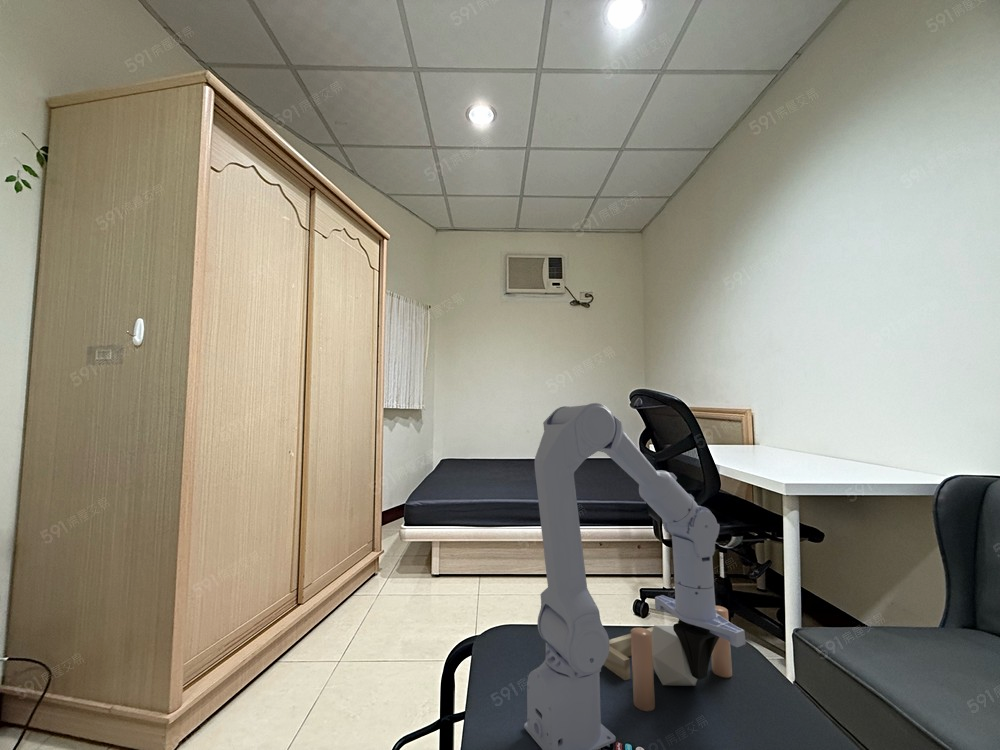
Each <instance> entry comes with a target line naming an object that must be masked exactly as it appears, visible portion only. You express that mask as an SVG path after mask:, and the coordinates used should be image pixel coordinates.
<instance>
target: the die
mask: <svg viewBox="0 0 1000 750" xmlns="http://www.w3.org/2000/svg"><path fill="white" fill-rule="evenodd" d="M653 627H654V628H653V630H652V652H653V671H654V672H655V675H657V677H658V679H659V681H660V682H661V685H662V686H683V687H685V686H696V685H697V682H698V679H696V678H695V677H693V676H692V674H691V671H690V667H689V664H688V660H687V657H686V654H685V651H684V649H683V646H682V644H681V642H680V640H679V638H678V636H677V635H676V633H675V631H674V629H673V625H656V624H655V625H654V626H653Z"/></svg>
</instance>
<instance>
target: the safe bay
mask: <svg viewBox="0 0 1000 750" xmlns="http://www.w3.org/2000/svg"><path fill="white" fill-rule="evenodd" d="M653 628H654V626H651V627H648V628H646V629H647V630H649V631H650V632H651V633H652V630H653ZM609 643H610V646H609V653H608V657H607V659H606V661H605V663H604V665H603V666H604V667H605V668H607V669H608V670H609V671H611V672H612V673H614V674H615V675H617V677H619V678H621V679H622V680H623V681H627V680H631V660H630V658H629V657H632V648H631V632H630V633H628V634H625V635H621V636H618V637H615V638H611V639H610V638H609Z"/></svg>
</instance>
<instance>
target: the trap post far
mask: <svg viewBox="0 0 1000 750" xmlns="http://www.w3.org/2000/svg"><path fill="white" fill-rule="evenodd" d="M715 608H716V609H717V614H719V615H720V616H722V617H723V618H725V619H726V620H727V621H729V610H728V609H727V608H726V607H724V606H721V605H716V604H715ZM729 622H730V621H729ZM731 651H732V650H731V644H730V642H729V641H727V640H725V639H723V638H721V637H719V639H718V641H717V643H716V645H715V647H714V649H713V651H712V654H711V658H710V661H711V670H712V673H713V674H714V675H716V676H718V677H721V678H725V679H726V678H728V679H729V678H731V677H732V676H733V666H732V665H733V664H732V652H731Z"/></svg>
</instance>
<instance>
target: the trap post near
mask: <svg viewBox="0 0 1000 750" xmlns="http://www.w3.org/2000/svg"><path fill="white" fill-rule="evenodd" d="M630 633H631V648H632V655H631V664H632V665H631V669H632V670H631V672H632V673H631V674H632V693H633V705H634V706H635V708H637V709H639V710H640V711H645V712H651V711H652V712H653V711H654V710H655V709H656V700H655V699H656V698H655V678H654V677H655V675H654V668H653V652H652V633H651V632H650V631H649V630H647V628H643V627H633V628H632V629H630Z"/></svg>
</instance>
